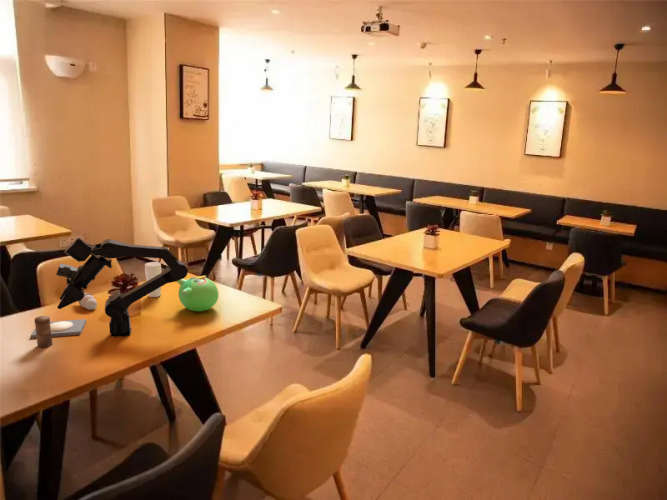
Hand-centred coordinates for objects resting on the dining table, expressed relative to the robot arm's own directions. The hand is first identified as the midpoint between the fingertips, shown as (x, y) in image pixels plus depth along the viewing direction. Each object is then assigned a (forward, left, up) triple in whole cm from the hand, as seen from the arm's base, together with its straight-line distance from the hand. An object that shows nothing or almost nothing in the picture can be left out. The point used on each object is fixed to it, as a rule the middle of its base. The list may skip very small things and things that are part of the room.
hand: (59, 303), depth 171 cm
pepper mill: (+5, +3, -14) cm, 15 cm away
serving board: (+3, -10, -14) cm, 17 cm away
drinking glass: (-29, -42, -14) cm, 53 cm away
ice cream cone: (-2, -34, -14) cm, 37 cm away
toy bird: (-47, -21, -14) cm, 53 cm away
